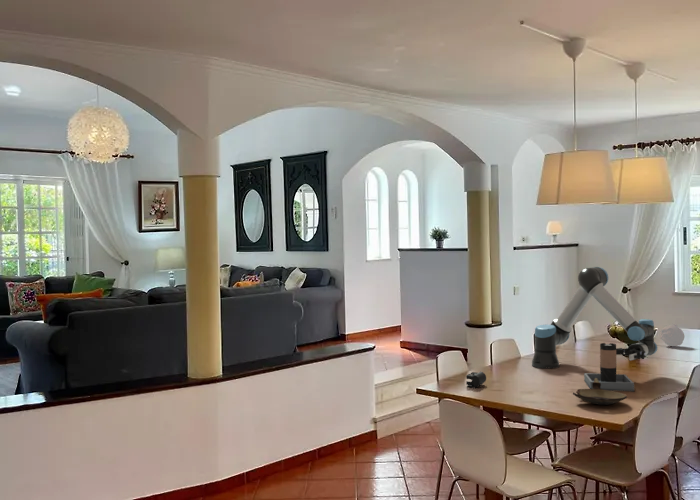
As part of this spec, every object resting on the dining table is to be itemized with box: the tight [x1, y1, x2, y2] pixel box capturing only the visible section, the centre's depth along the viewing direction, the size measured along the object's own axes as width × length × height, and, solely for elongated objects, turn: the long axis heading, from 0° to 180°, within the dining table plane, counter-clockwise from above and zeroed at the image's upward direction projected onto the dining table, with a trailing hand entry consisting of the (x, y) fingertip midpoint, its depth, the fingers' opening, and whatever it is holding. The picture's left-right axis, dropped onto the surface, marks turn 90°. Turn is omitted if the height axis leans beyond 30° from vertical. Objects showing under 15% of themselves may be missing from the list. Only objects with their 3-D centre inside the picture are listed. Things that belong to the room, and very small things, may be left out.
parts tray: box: [583, 372, 635, 392], centre depth 321 cm, size 20×20×4 cm
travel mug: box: [599, 342, 617, 382], centre depth 321 cm, size 8×8×20 cm
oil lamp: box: [572, 378, 627, 406], centre depth 291 cm, size 22×30×8 cm
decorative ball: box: [659, 323, 685, 347], centre depth 429 cm, size 15×13×15 cm
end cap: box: [465, 371, 487, 389], centre depth 325 cm, size 10×7×7 cm
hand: (616, 355), depth 327 cm, fingers open, 13 cm apart
